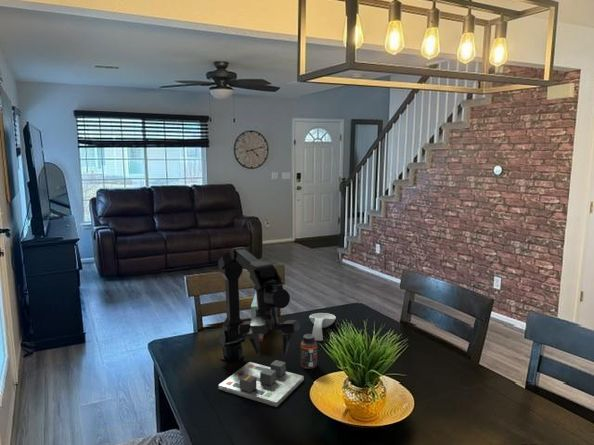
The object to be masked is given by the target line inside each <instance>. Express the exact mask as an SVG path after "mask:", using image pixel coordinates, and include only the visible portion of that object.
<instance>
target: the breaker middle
mask: <svg viewBox="0 0 594 445" xmlns="http://www.w3.org/2000/svg"><path fill="white" fill-rule="evenodd" d="M275 381H276V371H275V370H271V369H267V368H265V369H264V370H263V371H262V372H260V383H263V384H267V385H270V386H271V385H272V384H273V383H274V382H275Z"/></svg>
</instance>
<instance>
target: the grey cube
mask: <svg viewBox="0 0 594 445" xmlns="http://www.w3.org/2000/svg"><path fill="white" fill-rule="evenodd" d="M256 387H257V385H256V377H254V376H252V375H247V374H246V375H244V376H243V377H242V378H241V379H240V389H241V390H244V391H247V392H252V391H253V390H254V389H255V388H256Z"/></svg>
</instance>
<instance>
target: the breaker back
mask: <svg viewBox="0 0 594 445" xmlns="http://www.w3.org/2000/svg"><path fill="white" fill-rule="evenodd" d="M269 367H270V369H271V370H275V371H276V375H277V376H280V377H281V376H282V375H283V374H284V373H285V372H287V366H286V362H285V361H282V360H276V359H275V360H274V361H273V362H271V363H270V366H269Z"/></svg>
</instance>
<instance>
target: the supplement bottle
mask: <svg viewBox="0 0 594 445" xmlns="http://www.w3.org/2000/svg"><path fill="white" fill-rule="evenodd" d="M300 366H301V367H302V368H303V369H306V370H311V369H314V368H316V367H317V366H318V341H317V340H315V337H314V335H312V333H306V334H304V335H303V340H302V341H301V342H300Z"/></svg>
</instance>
